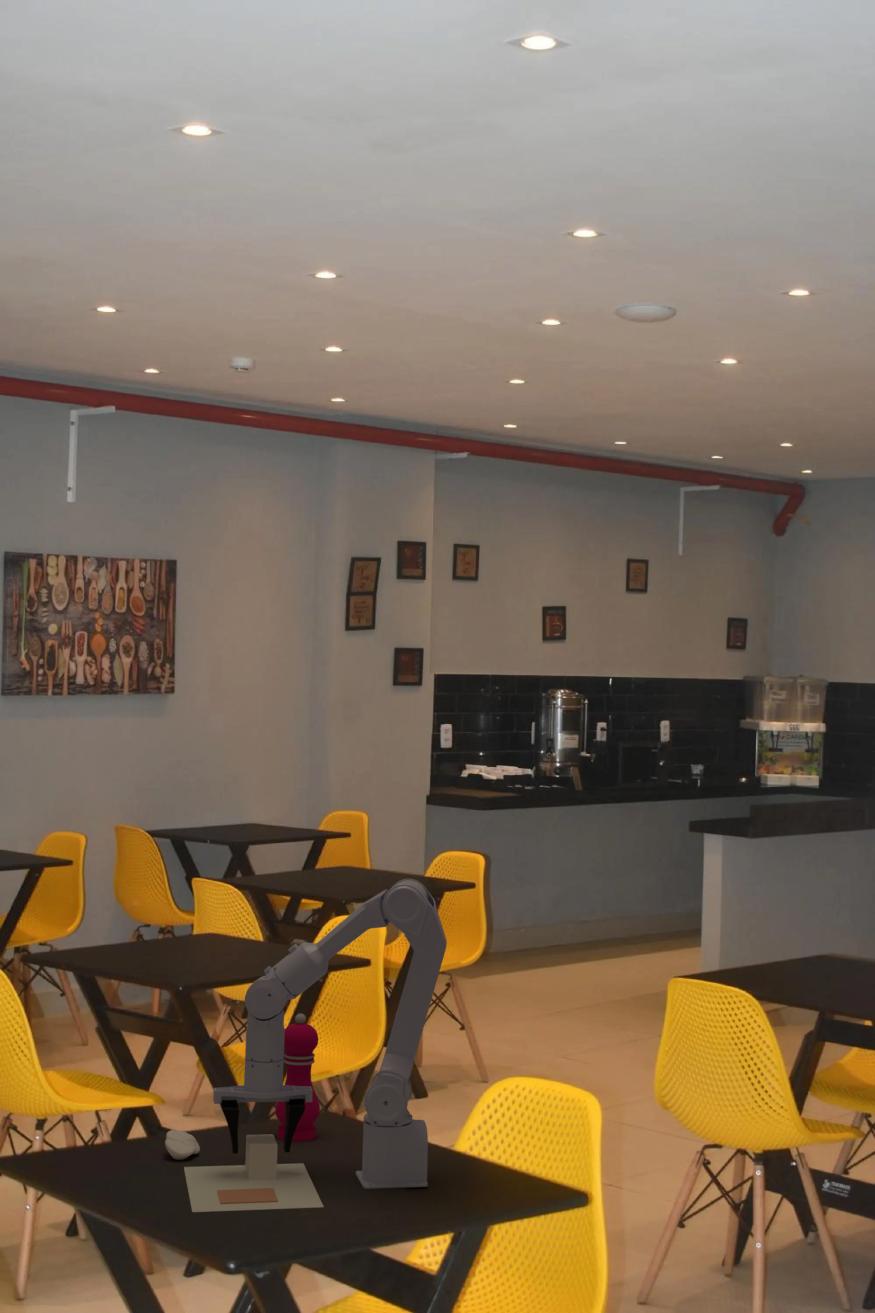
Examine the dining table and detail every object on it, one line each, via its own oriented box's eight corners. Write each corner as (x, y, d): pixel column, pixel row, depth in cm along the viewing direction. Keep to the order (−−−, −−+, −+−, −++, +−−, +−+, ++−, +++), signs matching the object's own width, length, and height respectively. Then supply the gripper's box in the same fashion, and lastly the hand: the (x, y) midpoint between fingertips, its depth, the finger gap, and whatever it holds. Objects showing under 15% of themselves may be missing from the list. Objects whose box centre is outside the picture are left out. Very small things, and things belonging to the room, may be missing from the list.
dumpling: (169, 1152, 240) (170, 1126, 241) (202, 1153, 240) (203, 1128, 241) (160, 1165, 234) (161, 1138, 234) (194, 1166, 233) (195, 1139, 234)
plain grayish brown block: (271, 1168, 232) (273, 1134, 232) (276, 1179, 226) (277, 1145, 226) (245, 1169, 231) (246, 1135, 231) (249, 1180, 225) (250, 1145, 225)
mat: (303, 1165, 235) (303, 1163, 235) (323, 1209, 213) (323, 1207, 213) (183, 1169, 231) (183, 1167, 231) (192, 1214, 210) (192, 1212, 210)
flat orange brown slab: (273, 1189, 221) (273, 1188, 221) (278, 1202, 215) (278, 1200, 215) (217, 1191, 219) (217, 1190, 219) (220, 1204, 213) (220, 1203, 213)
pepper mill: (274, 1132, 254) (278, 1009, 255) (318, 1132, 255) (322, 1010, 256) (274, 1144, 247) (278, 1017, 248) (319, 1144, 248) (323, 1018, 249)
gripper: (309, 1052, 235) (305, 1143, 234) (213, 1053, 232) (209, 1145, 231) (315, 1062, 228) (312, 1155, 227) (216, 1063, 225) (213, 1158, 224)
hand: (260, 1151), depth 229 cm, fingers open, 7 cm apart
